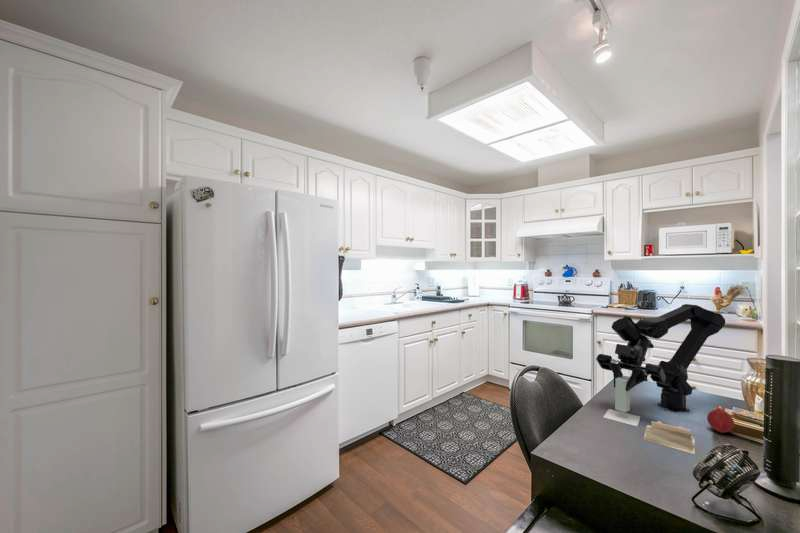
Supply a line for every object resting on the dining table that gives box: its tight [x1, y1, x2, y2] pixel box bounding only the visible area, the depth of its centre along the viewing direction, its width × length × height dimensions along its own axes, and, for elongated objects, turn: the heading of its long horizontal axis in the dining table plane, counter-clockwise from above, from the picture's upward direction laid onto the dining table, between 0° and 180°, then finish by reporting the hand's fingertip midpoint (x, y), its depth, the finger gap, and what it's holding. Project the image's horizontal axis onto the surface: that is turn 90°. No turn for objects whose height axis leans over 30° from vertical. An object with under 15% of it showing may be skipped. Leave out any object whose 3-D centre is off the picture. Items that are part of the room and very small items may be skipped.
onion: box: [706, 405, 735, 434], centre depth 100 cm, size 6×6×8 cm
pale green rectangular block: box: [614, 376, 631, 413], centre depth 109 cm, size 3×3×10 cm
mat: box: [603, 408, 641, 427], centre depth 109 cm, size 9×9×1 cm
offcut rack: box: [642, 420, 696, 455], centre depth 95 cm, size 12×11×5 cm
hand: (620, 388), depth 108 cm, fingers closed on pale green rectangular block, 3 cm apart
